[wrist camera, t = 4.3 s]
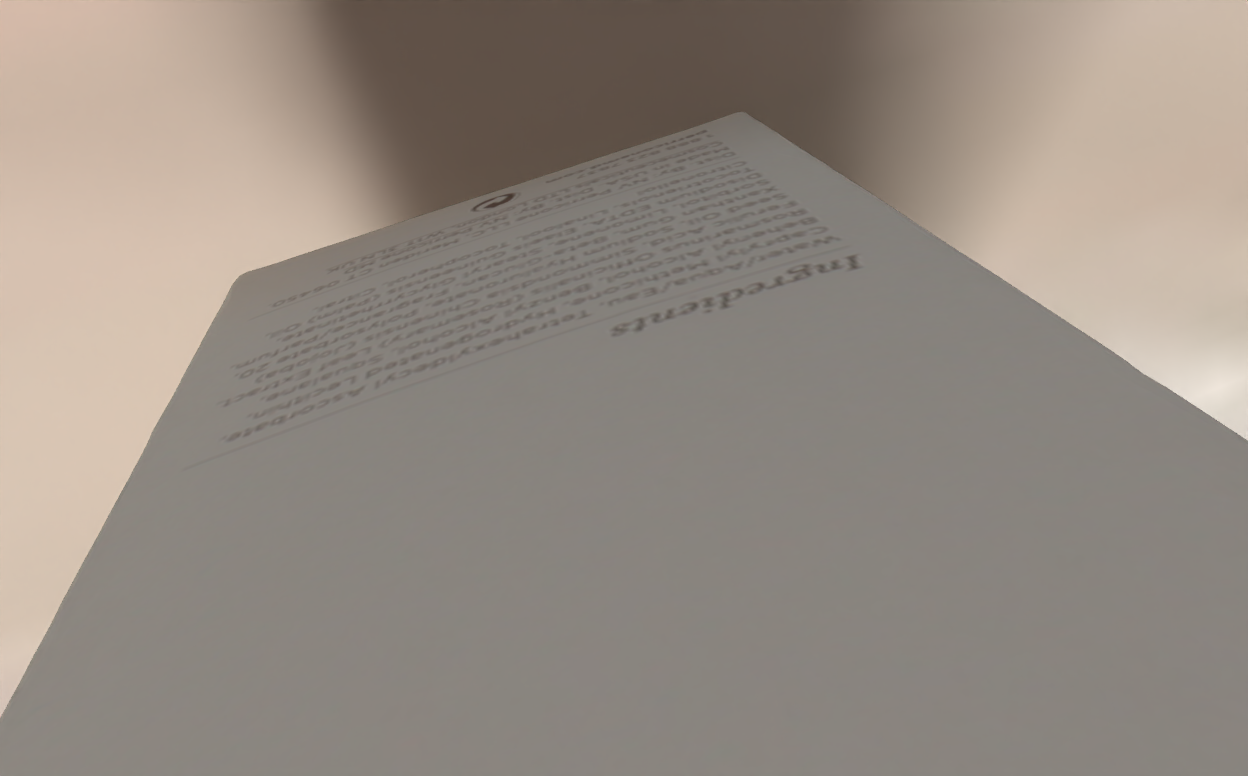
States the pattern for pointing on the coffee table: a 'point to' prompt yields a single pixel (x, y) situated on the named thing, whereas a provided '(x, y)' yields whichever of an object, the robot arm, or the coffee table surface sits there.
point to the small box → (655, 510)
